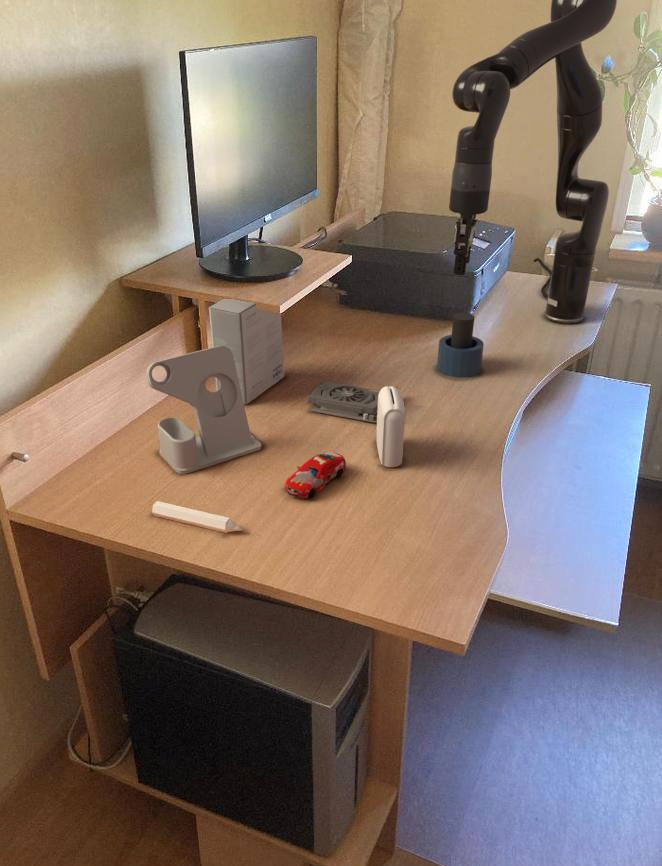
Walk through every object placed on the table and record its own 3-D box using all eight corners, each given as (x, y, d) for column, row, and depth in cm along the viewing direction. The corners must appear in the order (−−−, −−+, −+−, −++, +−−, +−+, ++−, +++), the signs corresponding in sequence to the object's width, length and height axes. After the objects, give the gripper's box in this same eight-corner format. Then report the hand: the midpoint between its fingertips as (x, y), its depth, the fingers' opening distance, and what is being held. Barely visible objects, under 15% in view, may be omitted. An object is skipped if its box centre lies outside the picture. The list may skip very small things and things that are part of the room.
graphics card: (403, 384, 159) (383, 408, 149) (402, 401, 161) (382, 426, 151) (326, 372, 165) (303, 394, 155) (326, 388, 167) (303, 411, 157)
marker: (244, 539, 122) (155, 517, 127) (249, 527, 123) (160, 506, 128) (240, 532, 120) (150, 510, 125) (245, 520, 121) (155, 498, 126)
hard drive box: (255, 370, 174) (251, 282, 163) (285, 377, 170) (282, 288, 160) (215, 398, 162) (207, 305, 152) (246, 406, 159) (240, 312, 148)
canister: (450, 363, 175) (455, 311, 168) (469, 365, 173) (475, 313, 167) (447, 371, 171) (452, 319, 165) (467, 373, 170) (473, 321, 163)
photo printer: (374, 440, 147) (376, 380, 140) (397, 439, 147) (400, 379, 140) (379, 468, 138) (382, 406, 131) (403, 468, 138) (408, 405, 131)
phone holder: (178, 476, 137) (167, 382, 127) (155, 451, 144) (142, 361, 134) (263, 448, 145) (259, 358, 135) (237, 426, 152) (232, 339, 142)
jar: (440, 359, 177) (442, 332, 174) (482, 364, 175) (486, 336, 171) (433, 376, 170) (435, 348, 166) (477, 381, 167) (481, 353, 164)
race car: (303, 505, 129) (303, 485, 127) (278, 494, 132) (278, 473, 130) (351, 471, 137) (352, 452, 135) (327, 461, 140) (327, 442, 138)
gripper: (487, 194, 145) (476, 280, 154) (493, 179, 157) (483, 260, 166) (446, 192, 147) (438, 277, 156) (455, 177, 159) (447, 257, 167)
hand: (461, 268), depth 161 cm, fingers open, 8 cm apart
